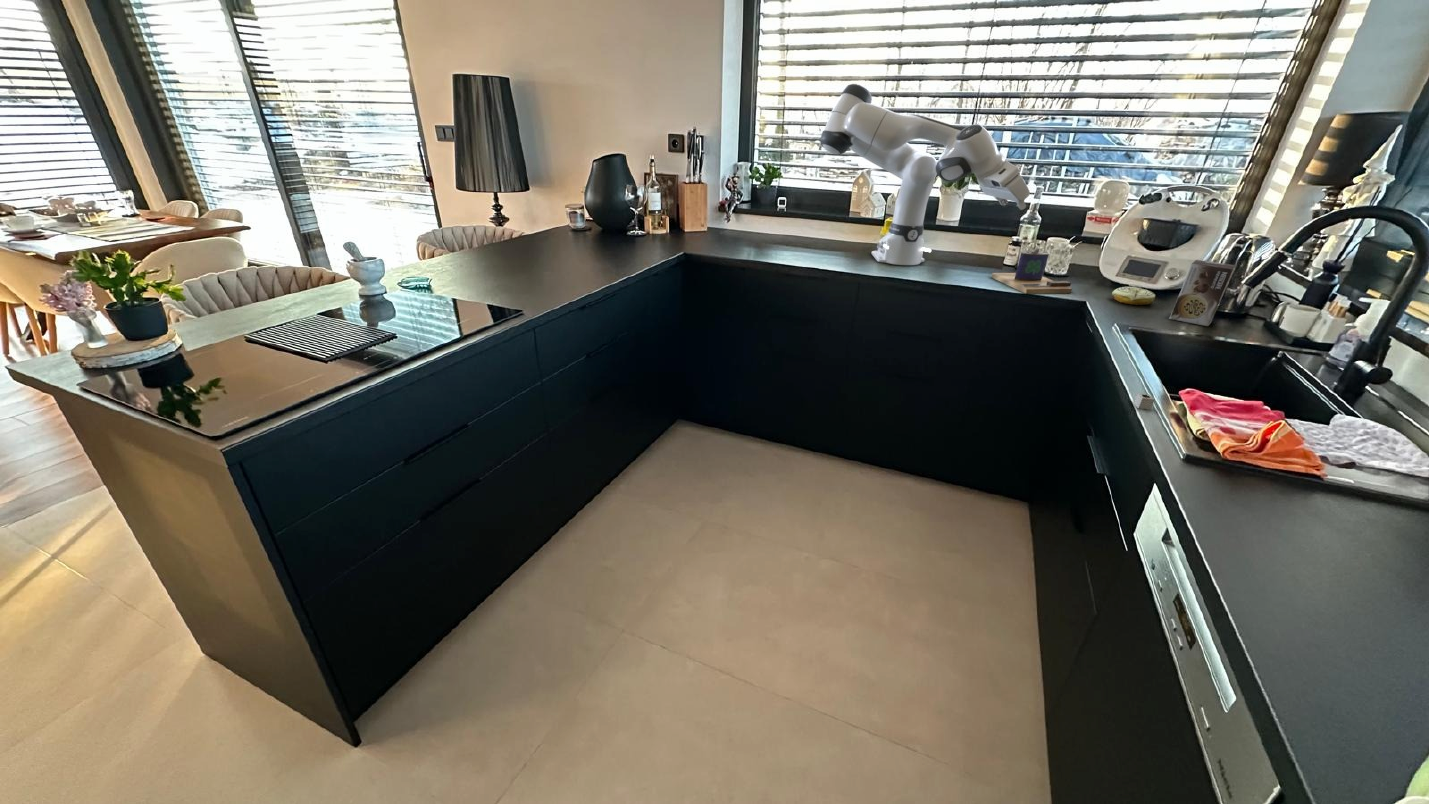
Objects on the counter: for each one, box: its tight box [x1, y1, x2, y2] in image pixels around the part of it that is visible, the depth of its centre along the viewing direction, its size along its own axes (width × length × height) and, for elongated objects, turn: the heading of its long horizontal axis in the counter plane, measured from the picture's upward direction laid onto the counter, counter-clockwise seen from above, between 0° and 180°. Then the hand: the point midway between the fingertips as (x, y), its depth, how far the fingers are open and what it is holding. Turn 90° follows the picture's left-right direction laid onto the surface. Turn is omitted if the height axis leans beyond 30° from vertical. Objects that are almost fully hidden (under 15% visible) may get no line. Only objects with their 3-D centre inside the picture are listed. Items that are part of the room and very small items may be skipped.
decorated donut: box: [1111, 286, 1156, 306], centre depth 173 cm, size 10×11×4 cm
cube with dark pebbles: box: [1133, 393, 1156, 411], centre depth 109 cm, size 2×2×2 cm
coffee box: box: [1168, 259, 1237, 327], centre depth 154 cm, size 9×6×16 cm
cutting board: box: [990, 272, 1073, 295], centre depth 188 cm, size 20×16×2 cm
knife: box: [1022, 280, 1072, 287], centre depth 182 cm, size 2×16×1 cm, turn 97°
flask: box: [1015, 247, 1050, 281], centre depth 186 cm, size 9×3×11 cm, turn 91°
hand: (1013, 206), depth 176 cm, fingers open, 8 cm apart
